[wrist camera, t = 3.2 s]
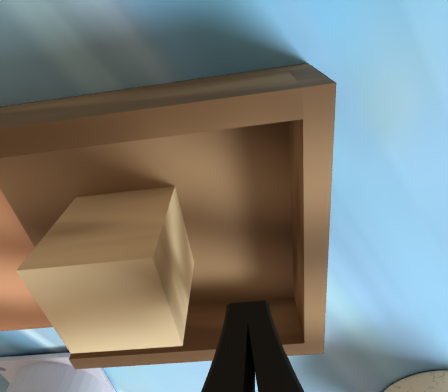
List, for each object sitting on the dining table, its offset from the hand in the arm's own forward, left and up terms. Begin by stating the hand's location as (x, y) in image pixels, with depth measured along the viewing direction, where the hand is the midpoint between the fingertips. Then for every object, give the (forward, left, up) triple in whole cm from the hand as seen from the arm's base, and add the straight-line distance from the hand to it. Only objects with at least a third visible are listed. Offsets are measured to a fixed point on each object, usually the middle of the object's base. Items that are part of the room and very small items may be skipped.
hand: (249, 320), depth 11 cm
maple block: (0, +6, -6) cm, 8 cm away
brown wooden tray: (0, +8, -7) cm, 11 cm away
